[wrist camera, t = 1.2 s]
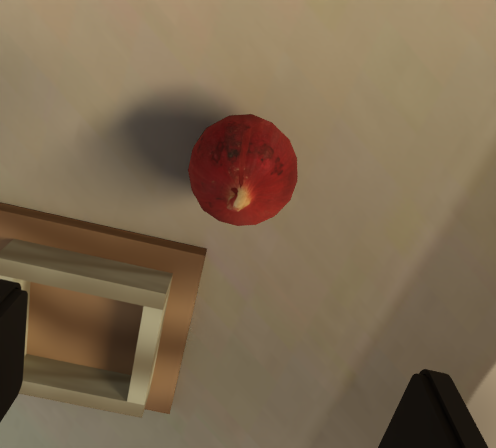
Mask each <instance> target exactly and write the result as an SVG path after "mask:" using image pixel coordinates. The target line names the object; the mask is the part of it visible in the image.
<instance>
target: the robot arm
mask: <svg viewBox="0 0 496 448" xmlns="http://www.w3.org/2000/svg"><path fill="white" fill-rule="evenodd" d="M27 303H28V293H27V291H24V290H21V285H20V283H17V282H13V281H8V280H3V279H0V422H1V420H2V419H3V417H4V416H5V414H6V413H7V411H8V410H9V408H10V407H11V405H12V403H13V402H14V400H15V399H16V397H17V396H18V394H19V391H20V389H21V386H22V382H23V370H24V353H25V337H26V320H27ZM378 448H488V446H487V444H486V443H485V441H484V439H483V437H482V435H481V433H480V431H479V429H478V428H477V426H476V424H475V422H474V420H473V418H472V416H471V414H470V413H469V411H468V409H467V407H466V405H465V403H464V401H463V399H462V397H461V396H460V394H459V392H458V390H457V388H456V386H455V384H454V382H453V381H452V379H451V377H450V376H449V375H448V374H445V373H441V372H436V371H431V370H426V369H424V370H422V371H421V372H420V373H419V374H414V375H413V376H412V378H411V380H410V382H409V384H408V386H407V388H406V390H405V392H404V394H403V396H402V399H401V401H400V403H399V405H398V407H397V409H396V411H395V413H394V415H393V417H392V419H391V422H390V424H389V426H388V428H387V430H386V432H385V434H384V436H383V438H382V440H381V442H380V445H379V447H378Z"/></svg>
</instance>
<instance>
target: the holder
mask: <svg viewBox="0 0 496 448" xmlns="http://www.w3.org/2000/svg"><path fill="white" fill-rule="evenodd" d="M206 251H207V249H205V248H200V247H196V246H191V245H187V244H182V243H178V242H173V241H169V240H165V239H160V238H156V237H151V236H147V235H142V234H138V233H133V232H129V231H124V230H120V229H116V228H111V227H107V226H102V225H98V224H93V223H89V222H84V221H80V220H75V219H71V218H67V217H62V216H58V215H53V214H49V213H44V212H40V211H35V210H31V209H26V208H22V207H17V206H13V205H9V204H4V203H0V279H3V280H8V281H13V282H17V283H20V285H21V290H24V291H27V293H28V303H27V320H26V337H25V353H24V370H23V382H22V386H21V389H20V391H19V394H24V395H29V396H34V397H39V398H45V399H50V400H55V401H60V402H65V403H70V404H75V405H80V406H85V407H90V408H95V409H100V410H105V411H110V412H115V413H120V414H125V415H130V416H135V417H140V418H142V415H143V412H144V409H147V410H152V411H157V412H162V413H167V414H170V410H171V405H172V401H173V396H174V392H175V388H176V383H177V379H178V374H179V370H180V366H181V361H182V357H183V352H184V348H185V344H186V339H187V335H188V330H189V326H190V321H191V317H192V313H193V308H194V304H195V299H196V295H197V291H198V286H199V282H200V277H201V273H202V268H203V264H204V260H205V255H206Z"/></svg>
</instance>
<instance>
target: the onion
mask: <svg viewBox="0 0 496 448" xmlns="http://www.w3.org/2000/svg"><path fill="white" fill-rule="evenodd" d="M188 172H189V177H190V182H191V188H192V191H193V193H194V195H195V197H196V198H197V200H198V202H199V204H200V206H201V208H202V209H203V210H204V211H205V212H207V213H208V214H210V215H211V216H213V217H214V218H216V219H217V220H219V221H221V222H225V223H229V224H232V225H236V226H242V225H256V224H258V223H261V222H263V221H265V220H267V219H269V218H272V217H274V216H275V215H276V214H277V213H278V212H279V211H280V210H281V209H282V208H283V207H284V206H285V205H286V204H287V203H288V202H289V201H290V199H291V197H292V194H293V191H294V188H295V186H296V183H297V157H296V155H295V152H294V150H293V148H292V145H291V143H290V140H289V139H288V138H287V137H286V136H285V135H284V134H283V133H282V132H281V131H280V130H279V129H278V128H277V127H276V126H275V125H274V124H273V123H271V122H269V121H267V120H264V119H262V118H259V117H257V116H255V115H252V114H248V115H232V116H227V117H226V118H224V119H222V120H220V121H218V122H217V123H215V124H213V125H211V126H209V127H207V128H206V129H205V131H204V132H203V134H202V135H201V137H200V138H199V140H198V141H197V142H196V144H195V145H194V148H193V150H192V155H191V159H190V164H189V169H188Z"/></svg>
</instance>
